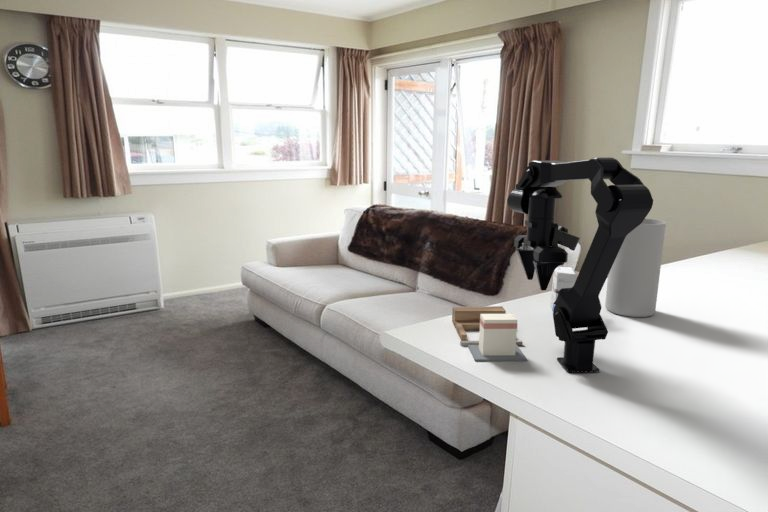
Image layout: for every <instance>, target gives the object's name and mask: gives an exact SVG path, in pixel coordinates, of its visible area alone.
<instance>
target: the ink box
mask: <svg viewBox="0 0 768 512" xmlns="http://www.w3.org/2000/svg"><path fill="white" fill-rule="evenodd" d="M576 279H577V274H576V272H575V271H574V269H573V268H572V266H571V267H568V266H567V267H566V266H559V267H557V268H556V269H555V270H554V272H553V274H552V286H551V296H550V308H551V311H552V312H553V311H554V307H555V304H554V302H555V301H556V299H557V297H558V293H559V291H560V290H561V289H562V288H572V287H573V286H574V284H575V281H576Z"/></svg>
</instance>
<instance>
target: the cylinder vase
mask: <svg viewBox="0 0 768 512" xmlns="http://www.w3.org/2000/svg"><path fill="white" fill-rule="evenodd" d="M666 224H667V223H666V221H663V220H658V219H653V218H645V219H644V220H643V222H642V223H641V224H640V225H639V226H637V227H636V228H635V229H634V230H632V231H631V232H630V233H629V234H627V236H626V237H625V239H624V242H623V244H622V246H621V248H620V250H619V252H618V255H617V257H616V259H615V261H614V263H613V265H612V268H611V270H610V272H609V274H608V276H607V279H606V280H607V282H606V290H605V292H606V294H605V300H604V301H605V302H604V307H605V308H606V309H607V310H608V311H609V312H610V313H613V314H616V315H618V316H623V317H630V318H647V317H651V316H653V315H655V313H656V310H657V309H656V308H657V301H658V292H659V284H660V283H659V282H660V276H661V275H660V274H661V267H662V259H663V258H662V257H663V250H664V241H665V233H666Z"/></svg>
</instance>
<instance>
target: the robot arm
mask: <svg viewBox="0 0 768 512" xmlns="http://www.w3.org/2000/svg"><path fill="white" fill-rule="evenodd" d="M519 179H520V180H519V181H518V183H516V184H515V188H514V189H513V190H512V191H511V192H510V193H509V195H508V197H507V199H506V200H507V201H506V202H507V206H508V208H509V209H510V210H511V211H513V212H516V213H520V214H524V215H527V220H526V219H525V220H524V226H527V227H526V228H527V229H526V234H524V235H523V234H518V235H517V236H516V237H514V242H513V247H515V251H516V252H517V255H518V257H519V260H520V263H521V265H522V268H523V271H524V273H525V276H526V278H527V280H528V281H532V280H533V279H534V275H535V273H536V277H537V282H538V285H539V287H540V288H539V289H540V290H541V291H547V289H548V286H549V285H550V282H551V279H552V278H553V273H554V270H555V269H556V268H557V267H561V266H563V265H564V264H565V263H568V257H569V253H568V252H567V251H566V250H565V248H567V249H569V250H571V251H575V250H576V248H577V246H578V243H579V241H580V238H581V237H578V236H575V234H572V233H569V232H568V231H569V229H568V228H567V227H565V226H563V225H559V224H558V223H557V222H556V221H555V216H556V205H557V199H562V198H563V195H562V194H561V192H559V190H558V189H557V187H559V186H562V185H564V184H566V182H569V181H580V180H581V181H582V180H583V181H584V180H589V181H590V195H591V197H592V198H593V199H594V201H595V203H596V206H595V207H596V208H595V217H596V221H597V224H598V226H597V230H596V231H595V234H594V236H593V239H592V241H591V244H590V246H589V249H588V251H587V253H586V255H585V258H584V261H583V262H582V265H581V267H580V270H579V272H578V275H577V276H576V278H575V284H574V286H573V287H572V288H562V289H561V290H560V291H559V293H558V297H557V299H556V301H555V302H554V304H555V307H554V311H552V316H553V317H552V319H553V325H554V332H555V336H556V337H557V338H558V341H561V342H564V349H563V357H559V356H558V357H557V358H556V361H557V362H559V364H560V365H561V366H562V368H564V370H565V371H566V372H567V373H600V370H601V369H600V368H599V367H598V366H597V365H595V364H594V357H595V349H596V348H595V347H596V341H598V340H606V338H607V336H608V334H609V330H608V328H607V326H606V324H605V322H604V320H603V317H602V315H601V310H602V303H601V301H600V297H599V296H600V294H601V291H602V289H603V287H604V285H605V283H606V280H607V279H608V274H609V272H610V270H611V268H612V265H613V263H614V261H615V259H616V257H617V255H618V252H619V250H620V248H621V246H622V244H623V242H624V239H625V237H626V236H627V234H629V233H630V232H631V231H632V230H634V229H635V228H636V227H637V226H639V225H640V224H641V223H642V222H643V220H644V219H646V217H647V216H648V215H649V213H650V211H652V207H653V205H654V198H653V196H652V193H651V191H650V189H649V188H648V187H647V186H646V185H645V184H644V183H643V182H642V180H641V179H640V178H639V177H638V176H637V175H635V174H633V173H632V172H630V171H629V170H627V168H625V167H623V165H622V164H621V163H620V161H619V160H618V159H617V158H614V157H606V156H605V157H602V156H601V157H593V158H589V159H583V160H574V161H562V160H556V159H554V160H531V161H529V163H528V166H526V168H525V170H524V172H523V174H522V176H521V178H519ZM605 180H609V181H610V182H611V183H612V184H609V185H608V184H607V182H606V181H605ZM559 245H560V246H563V247H565V248H562V247H560V246H559ZM584 328H586V329H584ZM574 329H579V330H574Z"/></svg>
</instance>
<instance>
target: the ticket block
mask: <svg viewBox="0 0 768 512" xmlns="http://www.w3.org/2000/svg"><path fill="white" fill-rule="evenodd" d="M517 329H518V318H516V316H515V315H514V314H513V313H506V314H480V330H479V332H478V333H479V335H478V337H479V338H478V341H479V350H480V351H481V353H482V355H483V356H487V355H515V351H516V340H517V333H518V332H517V331H518V330H517Z"/></svg>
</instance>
